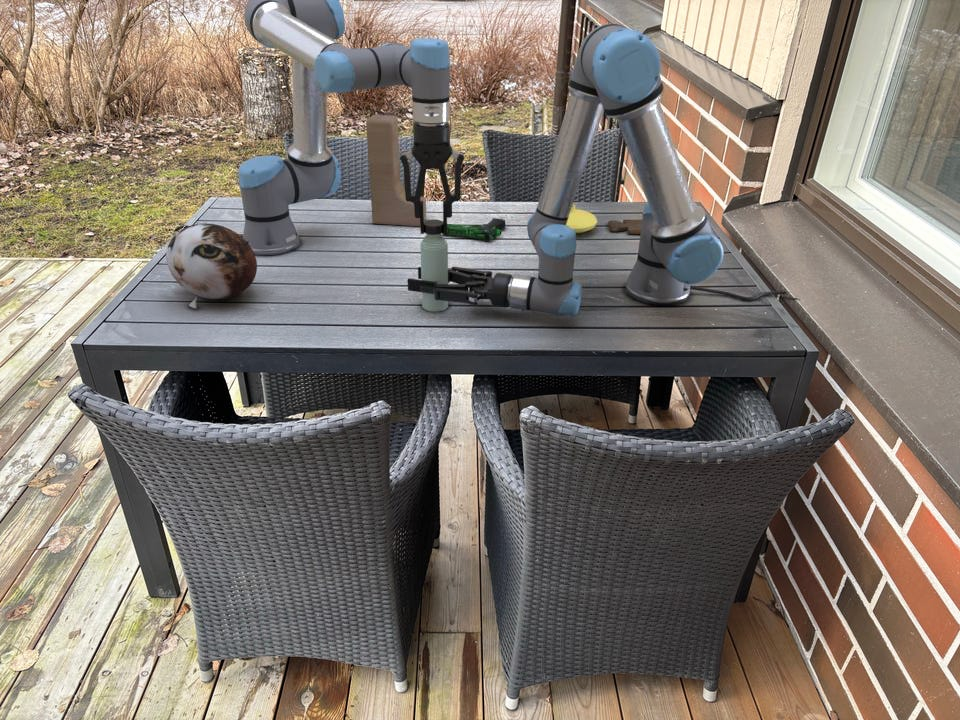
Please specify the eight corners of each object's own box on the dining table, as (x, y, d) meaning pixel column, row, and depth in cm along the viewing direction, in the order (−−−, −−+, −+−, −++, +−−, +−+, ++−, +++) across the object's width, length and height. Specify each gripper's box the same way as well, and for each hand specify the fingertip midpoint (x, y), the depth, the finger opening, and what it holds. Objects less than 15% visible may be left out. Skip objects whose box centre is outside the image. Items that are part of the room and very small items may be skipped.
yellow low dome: (559, 216, 220) (561, 193, 217) (605, 227, 212) (608, 204, 209) (532, 230, 209) (533, 207, 206) (580, 242, 201) (582, 218, 198)
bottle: (446, 312, 164) (445, 230, 154) (420, 311, 164) (417, 229, 154) (449, 300, 169) (448, 220, 159) (423, 299, 169) (421, 219, 159)
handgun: (511, 219, 210) (493, 234, 198) (511, 228, 211) (492, 244, 199) (461, 212, 215) (440, 226, 203) (461, 221, 217) (440, 236, 204)
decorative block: (421, 227, 210) (418, 122, 195) (372, 224, 212) (365, 119, 197) (426, 218, 217) (424, 116, 201) (378, 215, 218) (372, 114, 203)
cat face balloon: (130, 285, 161) (164, 203, 163) (192, 308, 177) (221, 233, 178) (195, 307, 151) (229, 220, 152) (254, 330, 166) (285, 250, 168)
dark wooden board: (699, 237, 207) (691, 225, 216) (700, 231, 206) (692, 220, 215) (610, 234, 207) (606, 222, 216) (611, 228, 207) (607, 217, 215)
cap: (443, 227, 159) (443, 219, 158) (444, 234, 155) (444, 226, 154) (423, 227, 159) (422, 219, 158) (423, 235, 155) (423, 226, 154)
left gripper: (387, 126, 141) (393, 238, 153) (475, 126, 143) (474, 237, 155) (389, 118, 148) (394, 226, 160) (472, 118, 149) (472, 225, 161)
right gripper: (499, 325, 153) (399, 311, 158) (519, 289, 169) (427, 277, 174) (501, 293, 149) (397, 280, 155) (521, 259, 165) (426, 248, 170)
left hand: (433, 231), depth 157 cm, fingers closed on cap, 4 cm apart
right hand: (413, 278), depth 164 cm, fingers closed on bottle, 6 cm apart
